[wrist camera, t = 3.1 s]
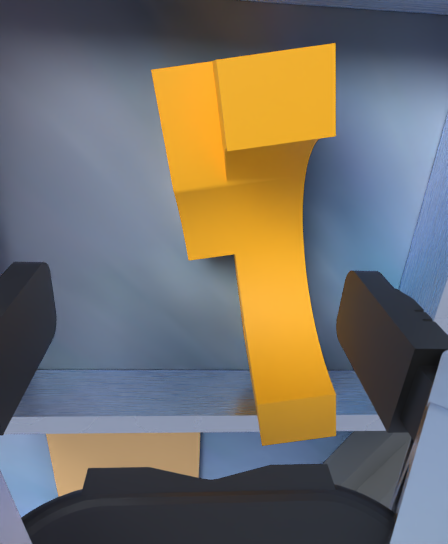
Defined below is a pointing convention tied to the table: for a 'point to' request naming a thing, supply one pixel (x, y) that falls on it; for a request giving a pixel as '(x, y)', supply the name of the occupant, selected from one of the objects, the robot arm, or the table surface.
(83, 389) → the case
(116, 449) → the tan rectangular plate
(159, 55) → the table surface
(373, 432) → the grey bevelled block
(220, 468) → the table surface
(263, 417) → the yellow curved stepped piece
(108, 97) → the table surface
